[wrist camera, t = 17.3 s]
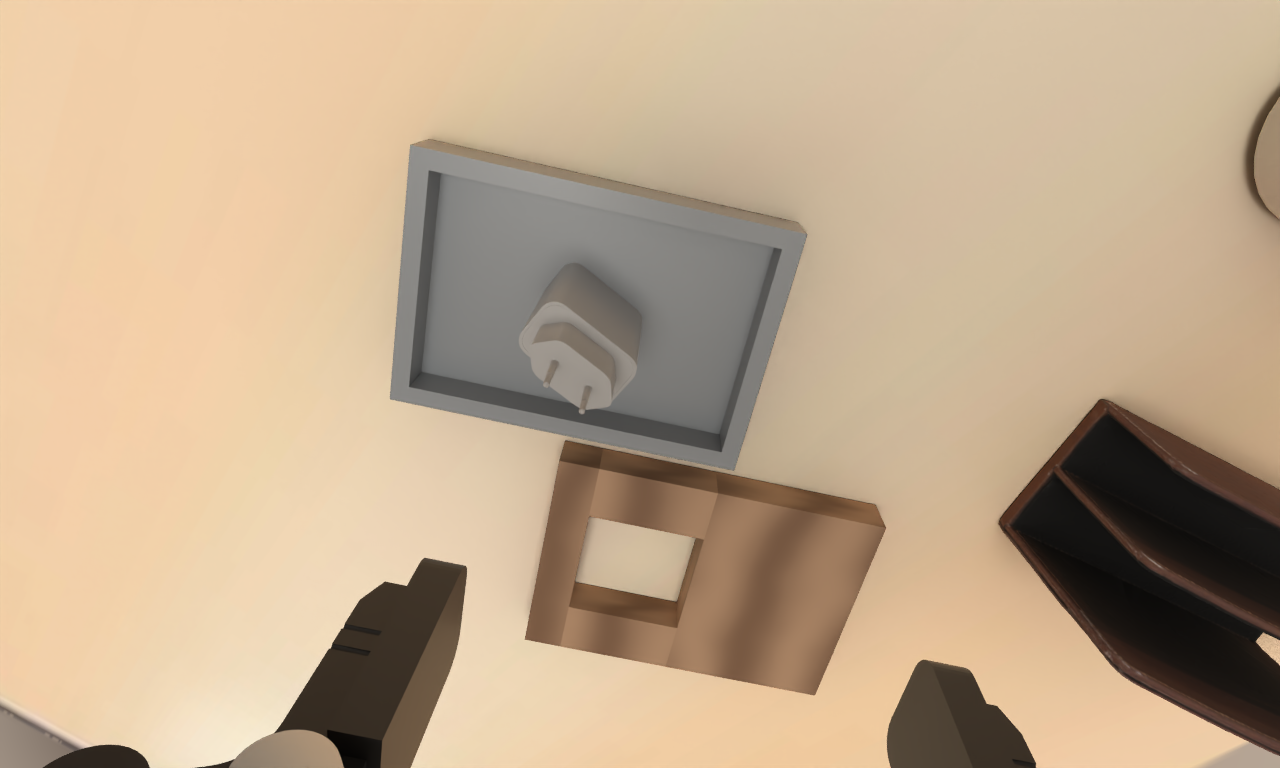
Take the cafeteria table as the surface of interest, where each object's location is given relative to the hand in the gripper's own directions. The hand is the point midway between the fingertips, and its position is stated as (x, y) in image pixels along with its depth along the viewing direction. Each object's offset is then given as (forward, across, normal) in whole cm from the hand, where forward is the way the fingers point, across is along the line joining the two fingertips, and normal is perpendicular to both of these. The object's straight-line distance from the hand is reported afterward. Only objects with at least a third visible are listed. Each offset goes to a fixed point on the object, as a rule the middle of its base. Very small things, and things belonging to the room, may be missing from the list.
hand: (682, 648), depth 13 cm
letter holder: (+31, -34, +11) cm, 47 cm away
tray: (+30, +5, +4) cm, 30 cm away
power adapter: (+29, +5, +4) cm, 30 cm away
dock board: (+30, -5, +20) cm, 36 cm away
